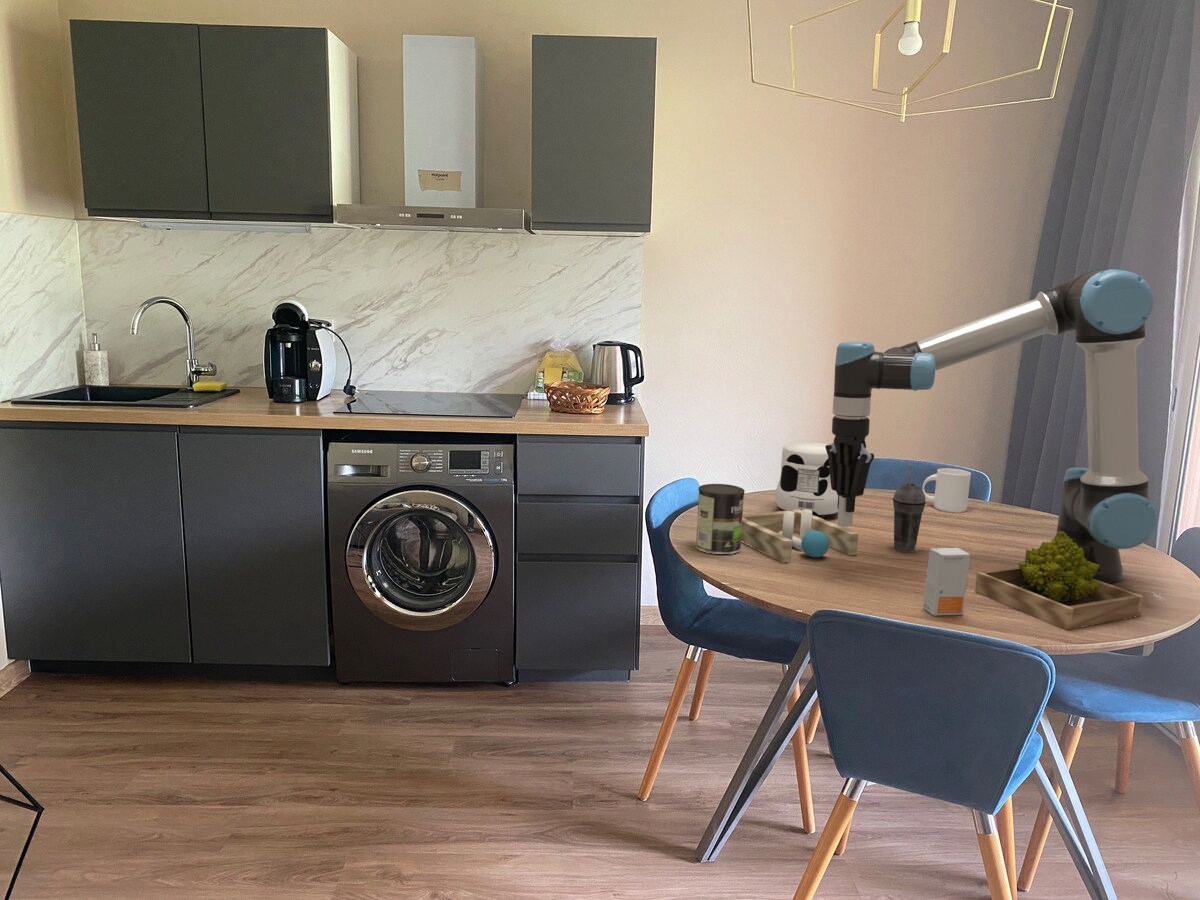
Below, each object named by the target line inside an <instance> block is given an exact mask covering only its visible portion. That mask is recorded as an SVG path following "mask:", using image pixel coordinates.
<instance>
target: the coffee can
mask: <svg viewBox="0 0 1200 900" xmlns="http://www.w3.org/2000/svg"><path fill="white" fill-rule="evenodd" d="M745 492H746V491H745V489H744V487H743V488H742V487H740V486H738V485H732V484H725V483H707V484H702V485H699V486H698V503H697V504H698V505H697V520H696V521H697V526H696V542H695V548H696V547H697V548H698V549H700V550H702V551H705V552H708V553H715V554H732V553H736V552H738V551H740V552H741V550H740V549H741V545H742V544H741V543H742V542H741V529H742V515H743V512H744V499H745ZM708 553H707V554H708ZM736 554H737V553H736ZM732 555H733V554H732Z"/></svg>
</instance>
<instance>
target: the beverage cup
mask: <svg viewBox="0 0 1200 900" xmlns="http://www.w3.org/2000/svg"><path fill="white" fill-rule="evenodd" d="M912 467H913V466H912V465H909V469H908V470H909V471H908V473H909V475H908V483H904V484H902V485H901V486H899V487H898V488H897V489H896V490H895V491H894V495H893V498H892V501H893V502H892V503H893V509H894V510H893V511H894V512H893V514H894V515H893V516H894V518H893V544H894V547H893V549H894V548H895V549H894V550H896V551H898V550H900V551H899V552H903V551H905V553H913V552H915V548H916V545H917V541H918V535H919V531H920V526H921V521H922V515H923V513H924V510H925V507H926V506H925V505H926V504H927V502H926V498H925V495H924V492H923V488H921V487H920V486H919V485H918V484H914V483H912ZM912 551H913V552H912Z"/></svg>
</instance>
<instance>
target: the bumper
mask: <svg viewBox="0 0 1200 900" xmlns="http://www.w3.org/2000/svg"><path fill="white" fill-rule="evenodd" d="M787 511H792V512H794V526H793V533H798V534H800V525H801V512H802V510H799V509H798V510H787ZM783 516H784V511H782V510H777V511H768V512H755V513H744V514H743V515H742V529H741V541H743V542H744V543H746V544H749V545H751V546H752V547H754V548H756V549H758V550H760V551H762V552H764V553H766V554H768V555H770V556H772V557H773V558H772V557H771V558H772V559H774V558H775V559H777V560H779V561H781V562H783V563H782V564H786V563H785V562H791V563H792V555H793V553H792V552H793V547H792V540H790V539H788V538H786V537H784V536H782V535H779V534H777V533H779V532H780V531H782V529H783ZM811 531H820V532H822V533H824V534H825V535H826V537H827V538H828V541H829V546H830V547H829V548H831V547H832V549H834V550H836V551H838V550H839V551H838V552H840V551H841V553H842V554H845V555H847V554H848V555H847V556H849V555H850V556H855V555H857V554H858V553H857V550H858V543H859V533H858V532H855V531H853V530H850V529H849V528H847V527H840V526H838V524H836V523H833V522H831V521H829V520H826V519H824V518H823V517H817V516H814V515H812V521H811ZM744 543H743V544H744ZM746 544H745V545H746ZM752 547H751V548H752ZM754 548H753V549H754ZM756 549H755V550H756ZM758 550H757V551H758ZM760 551H759V552H760ZM762 552H761V553H762ZM764 553H763V554H764ZM766 554H765V555H766ZM768 555H767V556H768ZM770 556H769V557H770ZM775 559H774V560H775ZM777 560H776V561H777ZM779 561H778V562H779ZM781 562H780V563H781Z"/></svg>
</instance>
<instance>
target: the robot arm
mask: <svg viewBox="0 0 1200 900" xmlns="http://www.w3.org/2000/svg"><path fill="white" fill-rule="evenodd" d="M1154 299H1155V298H1154V294H1153V291H1152V289H1151V286H1150V284H1148V282H1147V281H1146V280H1145V279H1144V278H1143V277H1141V276H1140V275H1139V274H1136V273H1134V272H1131V271H1128V270H1123V269H1119V268H1118V269H1117V268H1116V269H1111V268H1110V269H1107V270H1093V271H1087V272H1084V273H1081V274H1080V275H1077V276H1075V277H1073V278H1071V279H1068V280H1066V281H1064V282H1061V283H1059V284H1057V285H1054V286H1052V287H1049V288H1048V289H1045V290H1042V291H1039V292H1038V293H1037V295H1036V296H1035V298H1034V299H1031V300H1028V301H1026V302H1023V303H1020V304H1016V305H1014V306H1012V307H1009V308H1006V309H1003V310H999V311H997V312H994V313H992V314H991V313H990V314H987V315H985V316H983V317H980V318H978V319H974V320H972V321H968V322H966V323H963V324H960V325H957V326H955V327H952V328H949V329H947V330H943V331H941V332H938V333H935V334H932V335H929V336H927V337H924V338H920V339H918V340H915V341H913V342H910V343H907V344H904V345H901V346H893V347H891V348H888V349H886V350H885V351H884V352H880V351H876V349H875V345H874V343H873V342H867V341H843V342H841V343H839V344H838V345H837V346H836V352H835V353H836V355H835V363H834V380H833V381H834V383H833V384H834V388H833V398H832V400H833V401H832V414H833V415H834V416H833V417H832V420H831V433H832V434H833V435H834V439H833V442H832V443H831V444H830V445H826V447H825V448H826V451H827V454H828V460H829V470H830V480H831V489H832V490H835V491H836V492H837V495H838V509H839V510H838V513H837V525H838V526H840V527H844V528H847V527H853V523H854V521H853V520H854V519H853V518H854V512H855V509H856V507H855V506H856V498H857V497H860V496H863V495H864V491H865V490H866V483H867V481H868V475H869V471H870V468H871V464H872V462H873V460H874V459H875V454H874V453H872V452H869V451H868V450H867V443H866V437H868V436H869V433H870V421H871V420H870V419H869V416H870V415H871V405H872V404H871V402H872V399H871V398H872V390H873V389H877V390H880V389H882V390H883V389H884V390H885V389H886V390H905V391H907V390H908V391H914V392H916V391H927V390H930V389H932V388H933V386H934V382H935V380H936V379H935V377H936V371H938V370H942V369H945V368H948V367H951V366H953V365H956V364H960V363H961V362H965V361H967V360H971V359H974V358H977V357H980V356H984V355H986V354H988V353H992V352H995V351H998V350H1001V349H1003V348H1006V347H1010V346H1012V345H1013V346H1014V345H1015V344H1019V343H1022V342H1025V341H1028V340H1030V339H1034V338H1037V337H1039V336H1042V335H1045V334H1048V335H1052V336H1058V335H1061V334H1063V333H1066V332H1067V333H1068V332H1070V331H1071V332H1072V331H1075V344H1076V345H1077V346H1078V347H1079V348H1081V349H1082V350H1083V352H1084V357H1085V358H1084V360H1085V364H1084V365H1085V366H1084V368H1085V392H1086V395H1085V396H1086V421H1087V424H1086V426H1087V427H1086V428H1087V451H1088V452H1087V456H1088V457H1087V458H1088V468H1087V467H1070V468H1068V469H1066V471H1065V472H1064V473H1065V474H1064V477H1063V479H1062V490H1061V496H1060V497H1061V499H1060V506H1059V511H1058V512H1059V515H1058V521H1057V529H1056V533H1055V536H1054V537H1056V534H1057V532H1058V531H1063V532H1065V533H1066V534H1067V536H1068V537H1070V539H1073V543H1076V544H1077V546H1078V548H1081V547H1082V548H1083V552H1084V557H1085V559H1086V560H1087V562H1088V561H1090V562H1091V563H1096V564H1098V565H1100V567H1099V569H1098V570H1097V571H1096V573H1095V574H1096V575H1095V576H1093V577H1092V578H1093V579H1096V580H1099V581H1102V582H1104V583H1107V584H1111V583H1113V584H1114V583H1117V582H1120V581H1121V580H1122V579H1123V571H1124V568H1123V565H1122V559H1121V554H1120V550H1126V549H1127V550H1128V549H1132V548H1135V547H1138V546H1140V545H1141V544H1144V543H1145V542H1146V541H1147V540H1149V538H1151V537H1152V536H1153V534H1154V533H1155V532H1156V528H1157V525H1158V522H1159V521H1158V512H1157V510H1156V508H1155V506H1154V504H1153V502H1151V501H1150V498H1149V478H1148V476H1147V475H1146V474H1144V473H1143V472H1142V471H1141V470H1140V467H1139V464H1140V463H1139V462H1140V461H1139V422H1138V421H1139V420H1138V378H1137V377H1138V376H1137V374H1138V373H1137V347H1139V345H1140V344H1142V342H1143V341H1144V340H1145V339H1146V322H1147V320H1148V319H1149V317H1150V316H1151V314H1152V312H1153V309H1154Z"/></svg>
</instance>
